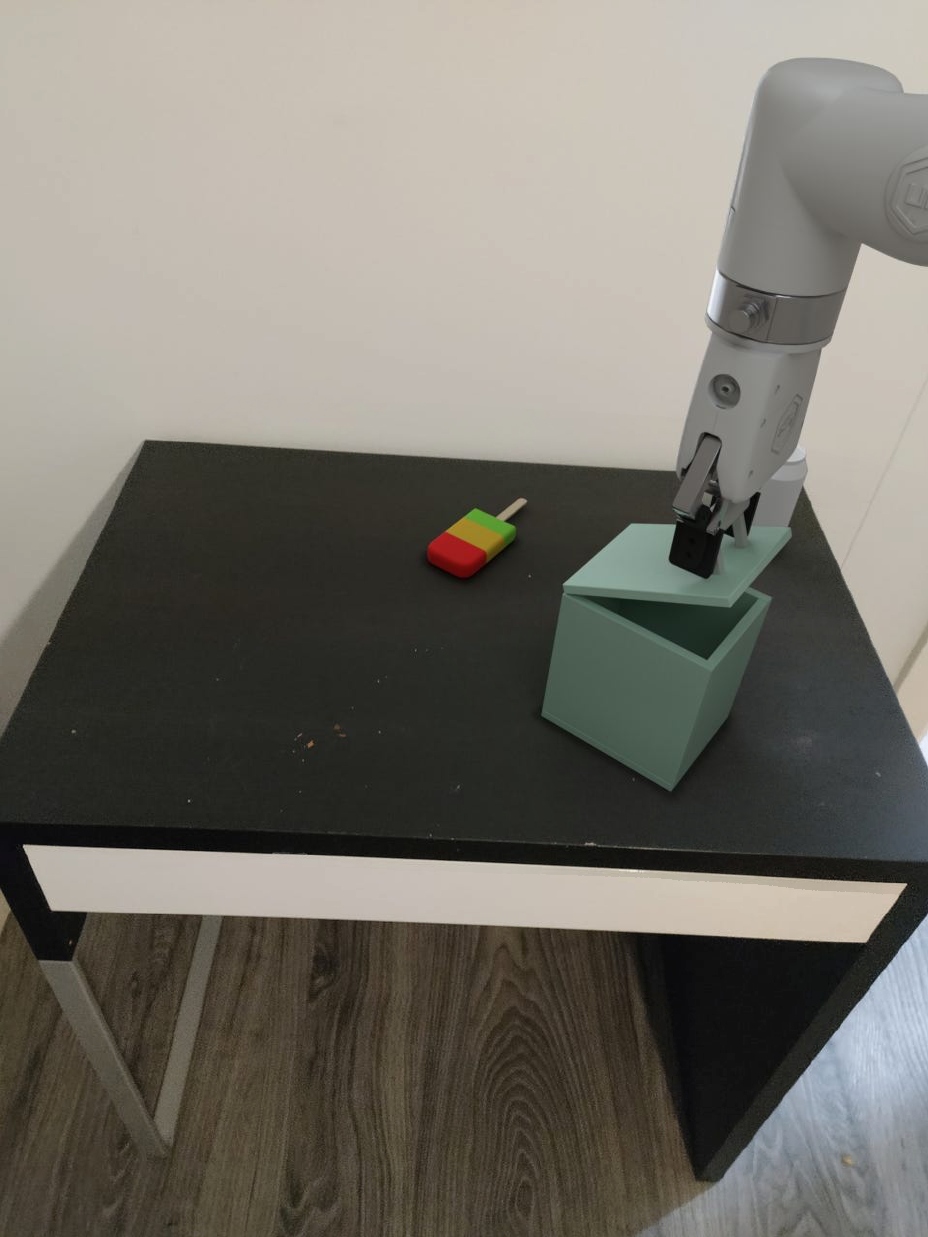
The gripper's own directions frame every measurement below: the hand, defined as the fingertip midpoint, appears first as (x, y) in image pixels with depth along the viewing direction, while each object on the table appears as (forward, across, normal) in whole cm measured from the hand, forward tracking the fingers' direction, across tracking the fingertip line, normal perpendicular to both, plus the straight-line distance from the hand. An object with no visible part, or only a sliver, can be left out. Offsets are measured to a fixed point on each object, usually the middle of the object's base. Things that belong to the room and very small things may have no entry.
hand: (708, 548), depth 67 cm
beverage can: (+19, +30, +6) cm, 36 cm away
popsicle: (+19, +12, +28) cm, 35 cm away
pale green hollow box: (+19, 0, +2) cm, 19 cm away
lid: (+3, 0, +2) cm, 3 cm away
